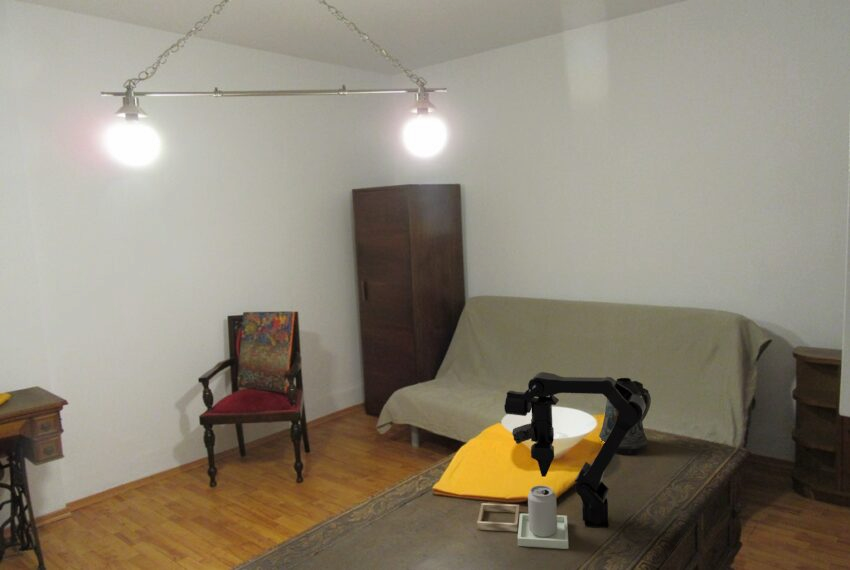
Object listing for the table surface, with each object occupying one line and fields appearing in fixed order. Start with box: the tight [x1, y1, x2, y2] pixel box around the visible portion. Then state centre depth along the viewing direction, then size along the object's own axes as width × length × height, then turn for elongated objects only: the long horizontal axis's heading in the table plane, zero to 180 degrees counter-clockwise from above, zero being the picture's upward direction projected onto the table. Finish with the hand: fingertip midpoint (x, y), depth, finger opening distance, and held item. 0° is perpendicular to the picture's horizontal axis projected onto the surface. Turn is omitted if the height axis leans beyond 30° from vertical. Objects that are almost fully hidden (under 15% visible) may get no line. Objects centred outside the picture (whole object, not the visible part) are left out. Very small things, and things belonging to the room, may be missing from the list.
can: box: [527, 485, 558, 538], centre depth 160 cm, size 8×8×12 cm
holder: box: [476, 502, 520, 533], centre depth 169 cm, size 11×11×2 cm
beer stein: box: [598, 377, 652, 456], centre depth 214 cm, size 16×19×25 cm
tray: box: [517, 512, 569, 550], centre depth 160 cm, size 13×13×2 cm
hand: (543, 469), depth 170 cm, fingers open, 9 cm apart
